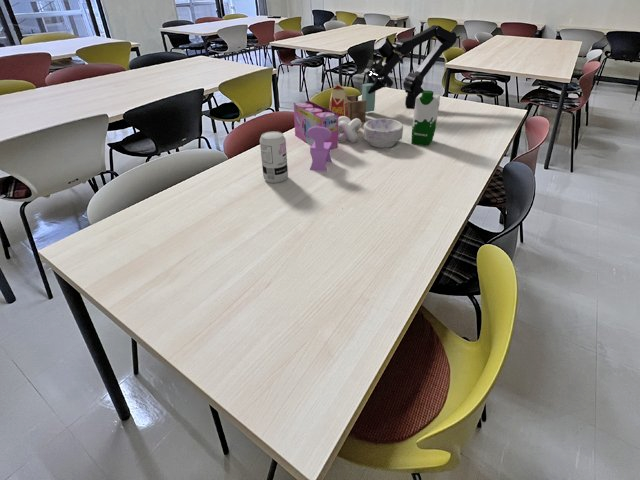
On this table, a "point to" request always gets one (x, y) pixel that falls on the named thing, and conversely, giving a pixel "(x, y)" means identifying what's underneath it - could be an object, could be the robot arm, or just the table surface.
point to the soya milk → (425, 118)
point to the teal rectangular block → (368, 97)
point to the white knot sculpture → (348, 129)
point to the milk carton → (339, 101)
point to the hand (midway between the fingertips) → (366, 92)
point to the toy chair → (320, 147)
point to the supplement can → (274, 157)
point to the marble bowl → (383, 132)
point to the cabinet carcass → (356, 108)
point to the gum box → (315, 121)
